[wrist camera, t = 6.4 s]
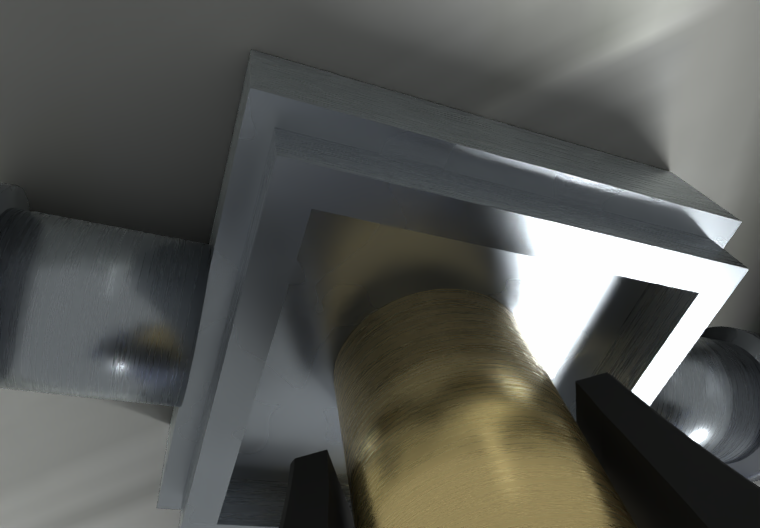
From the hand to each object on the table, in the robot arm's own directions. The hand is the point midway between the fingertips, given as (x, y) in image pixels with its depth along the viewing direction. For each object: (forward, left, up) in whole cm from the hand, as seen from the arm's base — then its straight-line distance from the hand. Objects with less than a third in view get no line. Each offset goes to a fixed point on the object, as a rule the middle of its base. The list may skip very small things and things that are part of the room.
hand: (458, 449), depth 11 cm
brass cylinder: (0, 0, -2) cm, 2 cm away
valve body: (0, 0, -5) cm, 5 cm away
